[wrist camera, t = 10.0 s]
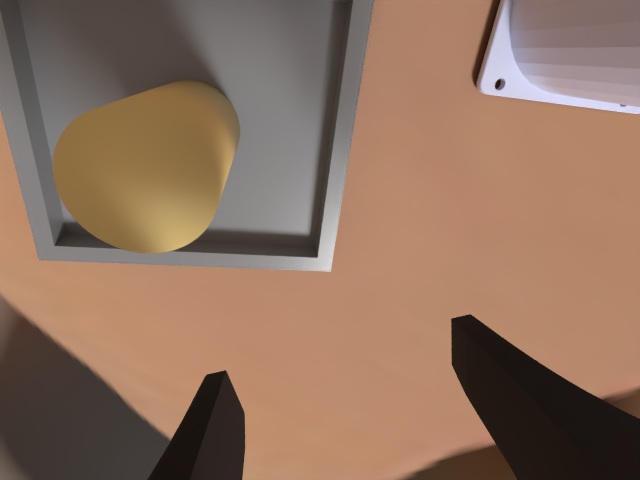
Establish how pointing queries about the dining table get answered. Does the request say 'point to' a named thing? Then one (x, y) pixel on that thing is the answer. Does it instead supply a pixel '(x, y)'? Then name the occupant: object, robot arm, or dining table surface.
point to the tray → (216, 70)
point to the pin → (148, 166)
